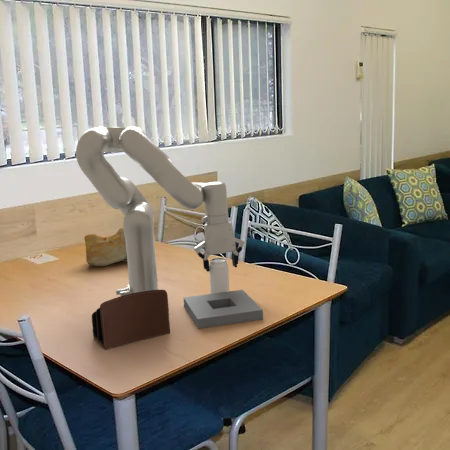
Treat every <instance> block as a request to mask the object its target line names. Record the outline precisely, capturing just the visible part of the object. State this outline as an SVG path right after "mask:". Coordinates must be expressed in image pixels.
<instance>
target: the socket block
mask: <svg viewBox="0 0 450 450" xmlns="http://www.w3.org/2000/svg"><path fill="white" fill-rule="evenodd" d="M183 307H184V308H185V310H186V312H187V313H188V315H189V316H190V318H191V320H192V321H193V323H194V324H195V326H196V329H207V328H213V327H219V326H226V325H232V324H233V325H235V324H238V323H239V324H240V323H245V322H254V321H260V320H264V313H263V312H264V310H263V308H262V307H261V306H260V305H258V303H256V301H255V300H254V299H253V298H252V297H251V296H249V295H248V293H247V292H246V291H245V290H243V289H237V290H229V291H228V292H221V293H213V294H211V293H208V294H207V293H206V294H201V295H199V294H198V295H193V296H192V295H191V296H186V297H185V296H184V297H183Z"/></svg>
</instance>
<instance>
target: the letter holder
mask: <svg viewBox="0 0 450 450" xmlns="http://www.w3.org/2000/svg"><path fill="white" fill-rule="evenodd" d="M169 310H170V308H169V298H168V293H167V290H166V289H158V290H150V291H143V292H136V293H131V294H127V295H124V296H120V295H119V296H118V297H115V298H111V299H108V300H106V301H104V302H102V303H101V304H100V305H99V307H98V308H97V309H96V310H95V311H94V312H93V313H92V314H91V324H92V337H93V339H94V340H95V341H96V342H97V343H98V345H100V347H102V348H103V349H104V350H108V349H113V348H116V347H120V346H121V347H122V346H125V345H129V344H133V343H136V342H139V341H143V340H149V339H151V338H155V337H161V336H163V335H167V334H168V335H169V334H171V326H170V324H171V323H170V313H169Z"/></svg>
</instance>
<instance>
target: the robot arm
mask: <svg viewBox="0 0 450 450" xmlns="http://www.w3.org/2000/svg"><path fill="white" fill-rule="evenodd" d="M105 153H124V154H125V155H127V156H128V157H129V158H130V159H131V160H132V161H134V162H135V163H136V164H137V165H139V167H141V168H142V169H143V170H144V171H145V173H147V174H148V175H149V176H151V178H153V181H155V182H156V183H157V184H158V185H160V186H161V188H162V189H163V191H165V192H166V193H167V194H168V195H169V196H170V197H172V198H173V199H174V200H175V201H176V202H177V203H179V204H180V205H181V206H182V207H183V208H185V209H187V210H196V209H199V207H201V206H202V204H204V213H205V215H204V217H201V222H204V225H203V241H202V242H200V243H198V245H196V246H195V247H193V250H194V252H195V253H196V255H197V256H198V257H199V258H201V259H202V261H203V262H202V264H203V269H204V270H205V271H206V272H208V273H209V271H210V270H209V264H210V261H209V258H210V256H214V255H220V254H228V253H232V254H231V259H232V260H231V262H232V267H234V268H238V264H239V257H238V256H239V254H240V253H241V252H242V250H243V247H244V245H245V241H244V240H243V239H241V238H240V239H239V238H237V237H236V236H235V232H234V228H233V227H234V226H233V224H232V221H230V220H229V218H230V217H229V208H228V207H229V205H228V197H227V196H228V195H227V194H228V192H227V185H226V183H225V182H223V181H209V182H194V181H193V182H192V181H190V180H189V179H188V178H187V177H186V176H185V175H184V174H182V172H181V171H180V170H179V169H178V168H177V167H176V165H175V164H174V162H173V160H172V159H171V158H170V156H169V155H168V154H167V153H166V152H164V151H163V150H162V149H161V148H160V147H159V146H158V145H156V144H155V143H154V142H153V141H152V140H151V139H149V137H148V136H147V134H146V133H145V131H144V130H143V129H142V128H140V127H138V126H98V127H97V126H96V127H92V128H90V129H88V130H86V131H84V132H83V134H81V136H80V138H79V139H78V142H77V145H76V148H75V157H76V162H77V164H78V167H79V168H80V170H81V171H82V172H83V174H84V175H85V176H86V178H87V179H88V181H90V183H91V184H92V185H93V187H94V188H95V190H96V191H97V192H98V193H99V194H100V196H101V197H102V198H103V200H104V202H106V204H107V205H108V206H109V207H111V208H112V209H115V210H120V212H121V213H122V214H123V215H124V217H123V222H122V223H123V224H122V225H123V229H124V235H125V242H126V253H127V272H128V284H127V286H125V287H124V288H117V289H115V295H116V296H119V297H120V296H124V295H127V294H131V293H136V292H143V291H150V290H159V284H158V273H157V270H158V269H157V259H156V258H157V257H156V256H157V255H156V246H155V245H156V243H155V233H154V222H155V218H156V214H155V213H156V212H155V210H154V208H153V206H152V205H151V204H150V202H149V201H148V200H147V198H146V197H145V196H144V194H143V193H142V192H141V191H140V189H139V188H138V187H137V186H136V185H135V183H134V182H133V181H132V180H131V179H129V178H127V177H123V176H120V174H118V172H117V171H116V170H115V168H114V167H113V166H112V164H111V163H109V161H108V160H107V159H106V157H105V155H104V154H105ZM236 243H237V244H238V246H237V247H236V245H237V244H236ZM201 249H203V250H204V252H203V253H202V252H201V251H200V250H201Z"/></svg>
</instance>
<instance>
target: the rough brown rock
mask: <svg viewBox="0 0 450 450" xmlns="http://www.w3.org/2000/svg"><path fill="white" fill-rule="evenodd" d="M84 242H85V244H84V245H85V254H86V255H85V260H86V261H85V262H86V263H87V265H90V266H93V267H105V266H110V265H113V264H115V263H119V262H127V253H126V242H125V235H124V229H123V227H120V228H119V229H118V230H117V232H116V233H114V234H112V235H109V236H101V235H99V234H96V233H88V234H85V236H84Z"/></svg>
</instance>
